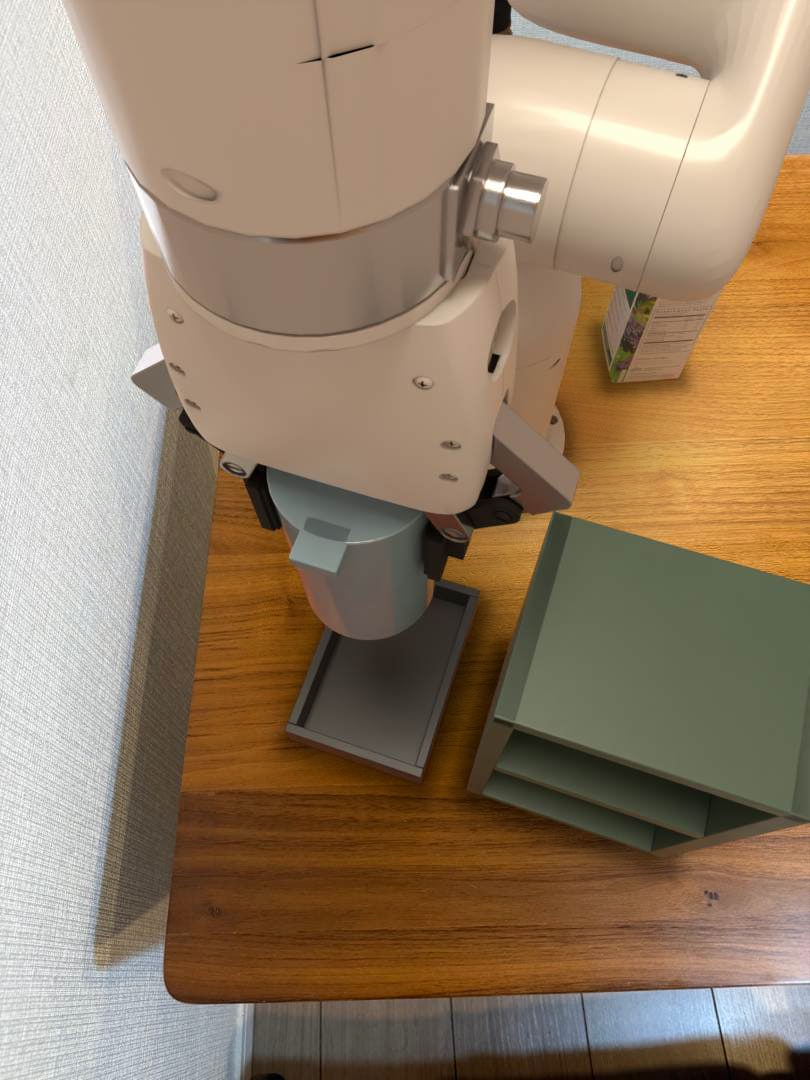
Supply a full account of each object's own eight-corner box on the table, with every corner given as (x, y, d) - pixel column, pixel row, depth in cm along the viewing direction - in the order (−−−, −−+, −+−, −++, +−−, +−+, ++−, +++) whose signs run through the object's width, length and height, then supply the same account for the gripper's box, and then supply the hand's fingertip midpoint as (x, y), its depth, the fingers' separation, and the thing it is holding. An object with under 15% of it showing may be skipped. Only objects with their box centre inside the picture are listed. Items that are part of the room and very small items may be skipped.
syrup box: (598, 329, 69) (640, 191, 56) (667, 324, 69) (726, 185, 56) (610, 385, 67) (657, 254, 54) (682, 380, 67) (746, 249, 54)
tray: (358, 568, 61) (355, 551, 58) (478, 605, 59) (480, 590, 56) (291, 740, 55) (284, 731, 53) (420, 785, 54) (420, 778, 51)
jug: (347, 465, 43) (325, 327, 33) (466, 499, 42) (480, 367, 32) (276, 636, 39) (226, 538, 29) (404, 677, 38) (399, 592, 28)
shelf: (507, 650, 58) (553, 510, 38) (691, 709, 56) (844, 593, 36) (465, 790, 54) (492, 716, 34) (662, 858, 52) (815, 822, 32)
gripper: (729, 146, 19) (584, 506, 35) (51, 2, 21) (212, 400, 37) (663, 413, 16) (539, 669, 32) (-114, 208, 18) (138, 542, 34)
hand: (362, 522), depth 35 cm, fingers closed on jug, 6 cm apart
